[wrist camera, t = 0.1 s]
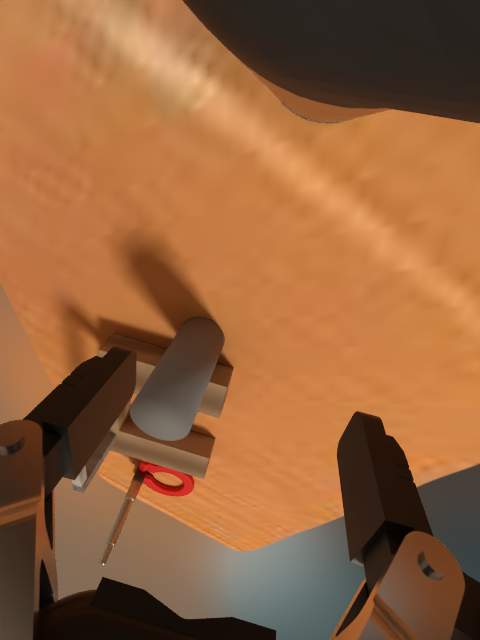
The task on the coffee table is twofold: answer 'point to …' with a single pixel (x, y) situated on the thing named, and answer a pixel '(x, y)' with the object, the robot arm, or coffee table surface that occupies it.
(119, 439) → the wooden gate frame
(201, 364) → the grey tapered capsule
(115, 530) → the tow hook
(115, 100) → the coffee table surface
